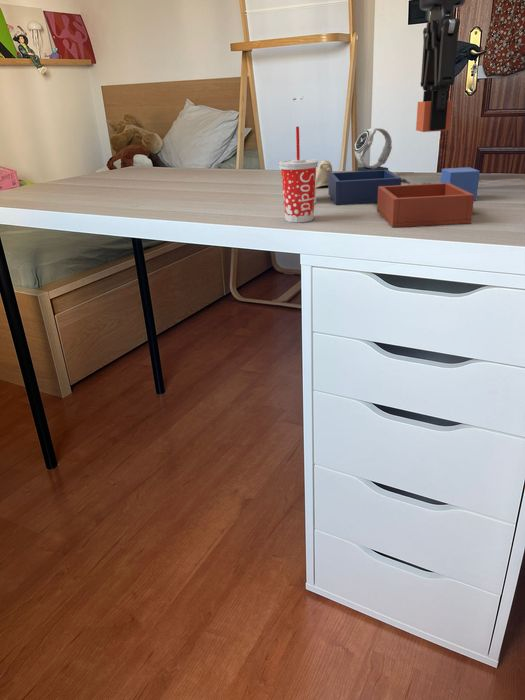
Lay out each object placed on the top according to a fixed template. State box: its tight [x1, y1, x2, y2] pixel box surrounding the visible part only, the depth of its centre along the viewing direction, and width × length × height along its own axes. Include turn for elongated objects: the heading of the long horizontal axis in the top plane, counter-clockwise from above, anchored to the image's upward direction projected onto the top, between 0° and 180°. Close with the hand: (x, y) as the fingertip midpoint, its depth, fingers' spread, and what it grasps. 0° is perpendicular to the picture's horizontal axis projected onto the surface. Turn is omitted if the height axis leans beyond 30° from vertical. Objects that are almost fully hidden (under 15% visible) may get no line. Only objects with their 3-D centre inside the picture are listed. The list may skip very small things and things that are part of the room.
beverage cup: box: [278, 126, 319, 223], centre depth 83 cm, size 6×6×14 cm
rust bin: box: [376, 182, 475, 228], centre depth 82 cm, size 12×12×4 cm
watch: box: [353, 127, 393, 171], centre depth 113 cm, size 6×8×11 cm
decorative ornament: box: [316, 159, 333, 189], centre depth 113 cm, size 4×8×5 cm, turn 175°
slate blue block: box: [440, 166, 481, 202], centre depth 93 cm, size 5×5×5 cm
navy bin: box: [327, 169, 402, 206], centre depth 99 cm, size 12×12×4 cm
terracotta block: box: [415, 100, 453, 133], centre depth 99 cm, size 5×5×5 cm
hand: (433, 128), depth 100 cm, fingers closed on terracotta block, 5 cm apart
